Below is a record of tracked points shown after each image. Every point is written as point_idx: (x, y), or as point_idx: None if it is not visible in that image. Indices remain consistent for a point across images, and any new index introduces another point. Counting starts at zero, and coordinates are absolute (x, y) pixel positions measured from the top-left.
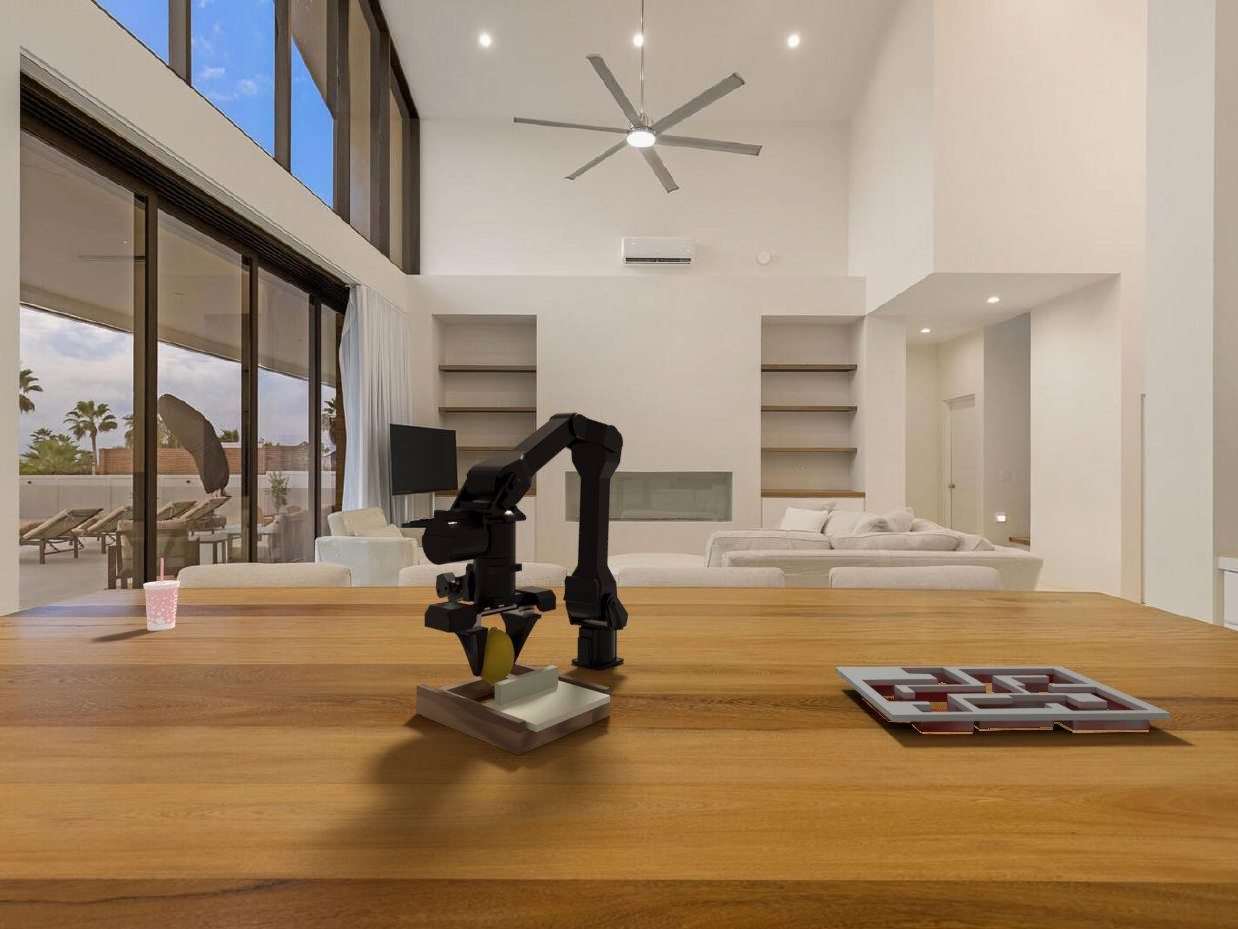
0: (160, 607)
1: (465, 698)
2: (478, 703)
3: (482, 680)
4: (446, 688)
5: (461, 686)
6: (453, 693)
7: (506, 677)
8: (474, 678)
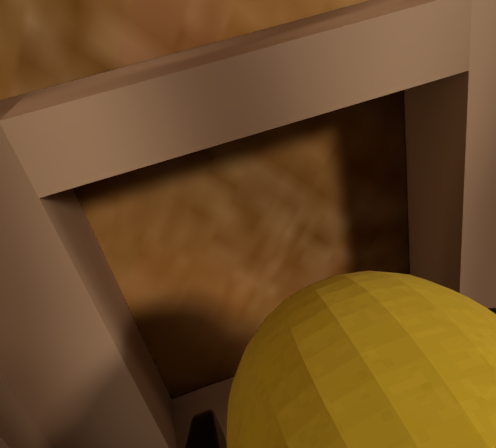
0: None
1: (116, 368)
2: (150, 437)
3: (347, 101)
4: (56, 161)
5: (174, 157)
6: (76, 275)
7: (466, 157)
8: (317, 58)
